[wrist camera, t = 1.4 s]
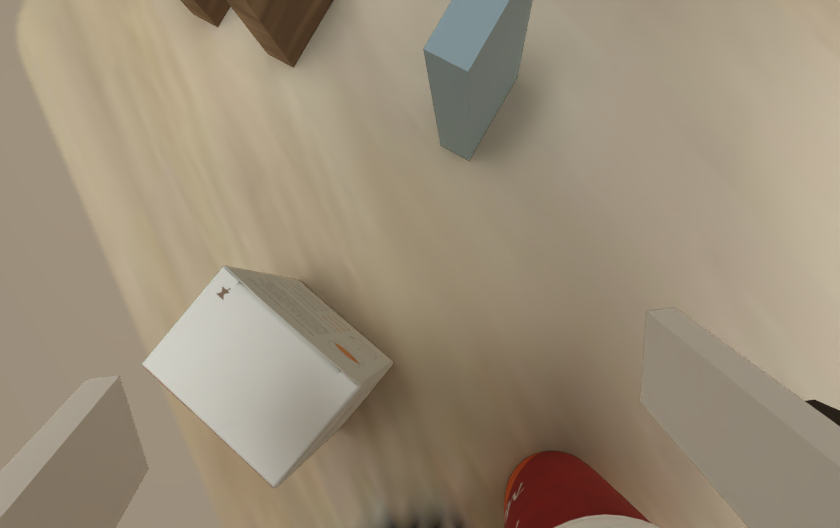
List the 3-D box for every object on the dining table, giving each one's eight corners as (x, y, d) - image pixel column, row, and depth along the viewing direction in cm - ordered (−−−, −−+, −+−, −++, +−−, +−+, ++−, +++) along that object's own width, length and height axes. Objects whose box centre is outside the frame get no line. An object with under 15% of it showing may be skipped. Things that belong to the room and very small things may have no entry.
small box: (241, 346, 33) (133, 362, 22) (299, 277, 33) (219, 260, 22) (337, 434, 32) (271, 495, 21) (397, 362, 32) (361, 387, 21)
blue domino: (517, 77, 32) (544, -60, 21) (469, 160, 32) (467, 71, 20) (488, 62, 33) (499, -81, 21) (440, 145, 33) (423, 49, 21)
